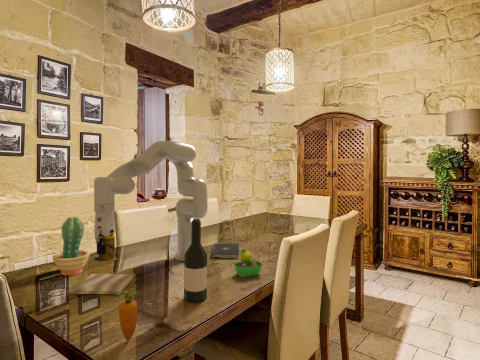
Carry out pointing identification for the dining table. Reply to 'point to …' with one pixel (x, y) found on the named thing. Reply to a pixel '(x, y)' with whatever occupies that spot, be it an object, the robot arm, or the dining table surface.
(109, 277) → the board
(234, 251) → the book
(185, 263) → the wine bottle
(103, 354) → the dining table surface
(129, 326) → the carrot
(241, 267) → the fruit basket
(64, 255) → the potted cactus
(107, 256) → the condiment
